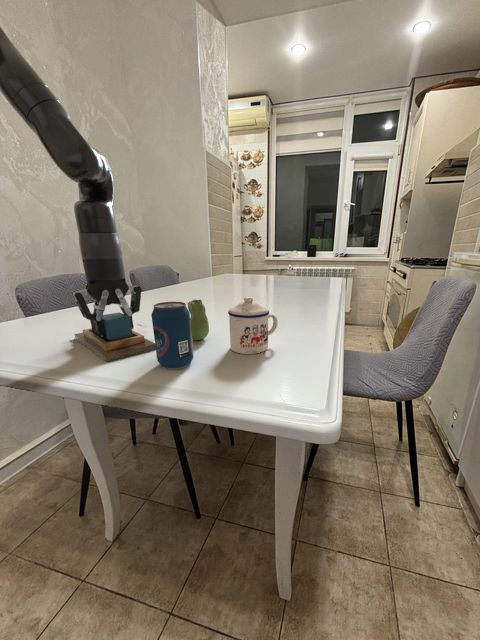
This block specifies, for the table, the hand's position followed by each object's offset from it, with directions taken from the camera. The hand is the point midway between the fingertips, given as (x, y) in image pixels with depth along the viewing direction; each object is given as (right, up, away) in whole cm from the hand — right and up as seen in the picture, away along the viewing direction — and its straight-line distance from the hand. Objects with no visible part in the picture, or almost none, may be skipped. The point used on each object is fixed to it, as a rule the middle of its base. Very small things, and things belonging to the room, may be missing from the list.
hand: (116, 333), depth 67 cm
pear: (+18, -1, +6) cm, 19 cm away
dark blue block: (-4, 0, +5) cm, 6 cm away
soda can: (+16, -7, -9) cm, 20 cm away
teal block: (0, 0, 0) cm, 0 cm away
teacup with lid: (+32, -3, +1) cm, 32 cm away
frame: (-2, -2, +3) cm, 4 cm away
